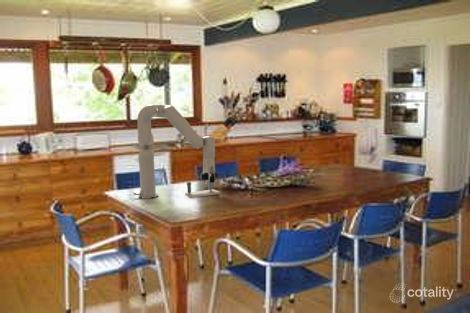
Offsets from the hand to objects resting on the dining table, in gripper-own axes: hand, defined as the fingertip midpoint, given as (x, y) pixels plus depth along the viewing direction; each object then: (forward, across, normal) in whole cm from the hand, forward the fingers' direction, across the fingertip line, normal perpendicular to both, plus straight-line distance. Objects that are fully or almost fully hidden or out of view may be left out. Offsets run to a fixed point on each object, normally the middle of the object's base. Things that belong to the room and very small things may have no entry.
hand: (209, 181), depth 326 cm
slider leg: (+6, 0, +1) cm, 6 cm away
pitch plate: (+8, 0, -5) cm, 10 cm away
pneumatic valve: (+8, -22, +9) cm, 25 cm away
